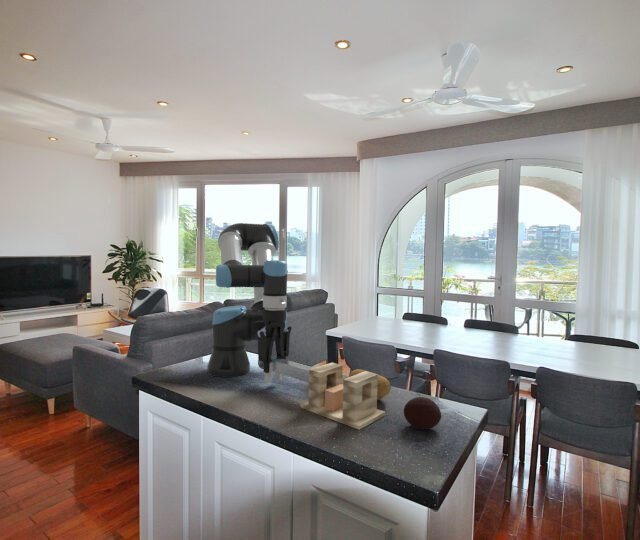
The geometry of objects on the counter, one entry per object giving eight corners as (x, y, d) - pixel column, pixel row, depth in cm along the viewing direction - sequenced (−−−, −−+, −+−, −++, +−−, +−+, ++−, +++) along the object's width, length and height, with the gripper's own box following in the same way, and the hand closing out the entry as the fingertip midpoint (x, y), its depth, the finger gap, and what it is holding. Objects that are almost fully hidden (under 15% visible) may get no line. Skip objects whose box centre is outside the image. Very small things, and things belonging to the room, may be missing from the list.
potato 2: (402, 419, 103) (403, 390, 102) (439, 423, 101) (440, 393, 101) (403, 433, 95) (404, 402, 95) (442, 437, 93) (444, 405, 93)
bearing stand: (300, 407, 109) (301, 368, 109) (328, 396, 118) (329, 360, 118) (359, 429, 96) (360, 385, 96) (384, 415, 105) (386, 375, 105)
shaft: (257, 370, 126) (258, 354, 126) (269, 367, 130) (270, 351, 130) (318, 390, 109) (318, 372, 109) (330, 385, 113) (330, 368, 113)
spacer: (325, 390, 106) (333, 392, 105) (340, 383, 112) (349, 386, 110) (324, 407, 107) (333, 411, 105) (340, 401, 112) (348, 403, 110)
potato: (378, 410, 109) (378, 381, 108) (341, 396, 119) (341, 370, 119) (398, 401, 116) (399, 374, 115) (361, 388, 126) (362, 364, 125)
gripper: (262, 312, 116) (261, 390, 117) (301, 307, 128) (299, 377, 129) (246, 309, 121) (245, 384, 122) (285, 305, 133) (284, 372, 134)
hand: (273, 380), depth 126 cm, fingers closed on shaft, 3 cm apart
